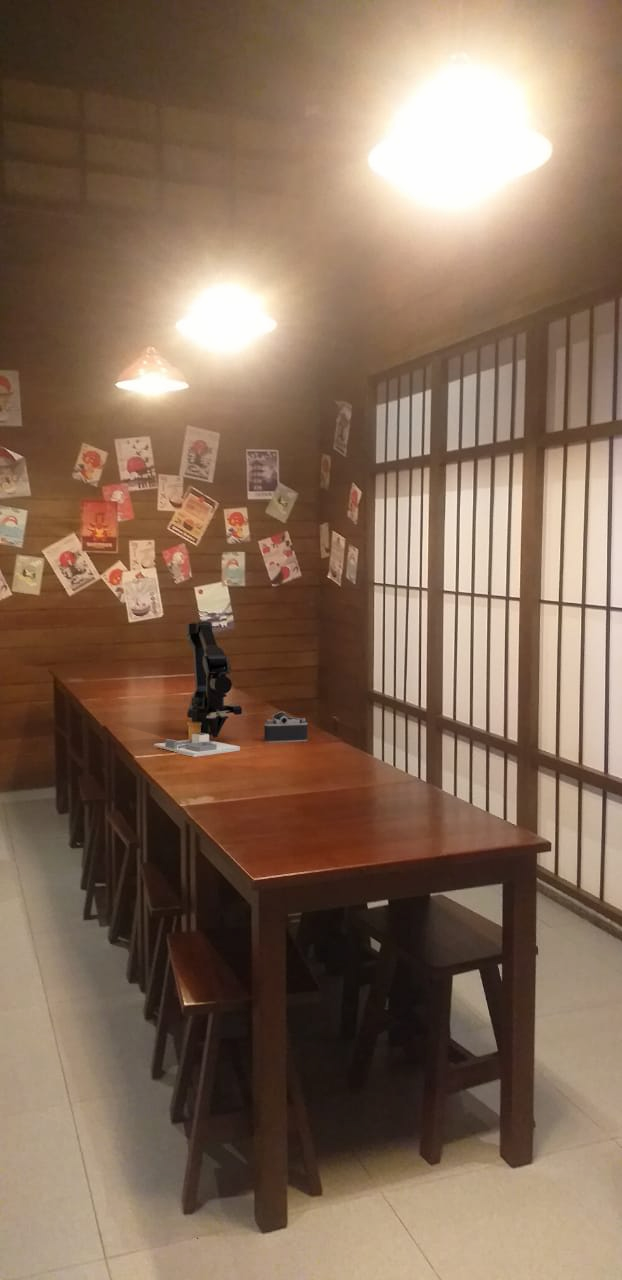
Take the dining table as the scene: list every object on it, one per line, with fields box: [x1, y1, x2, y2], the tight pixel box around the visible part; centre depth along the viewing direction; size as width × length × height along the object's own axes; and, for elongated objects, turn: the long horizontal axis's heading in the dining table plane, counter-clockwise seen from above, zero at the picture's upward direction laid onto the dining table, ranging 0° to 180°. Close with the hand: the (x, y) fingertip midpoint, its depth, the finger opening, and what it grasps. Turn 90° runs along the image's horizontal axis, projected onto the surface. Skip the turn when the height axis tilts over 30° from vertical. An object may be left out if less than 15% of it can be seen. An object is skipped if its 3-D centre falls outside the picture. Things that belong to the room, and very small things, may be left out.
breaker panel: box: [153, 738, 241, 758], centre depth 316 cm, size 18×22×4 cm
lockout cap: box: [187, 721, 202, 741], centre depth 325 cm, size 5×5×6 cm
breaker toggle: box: [192, 733, 210, 743], centre depth 320 cm, size 4×4×3 cm
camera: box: [262, 711, 308, 743], centre depth 335 cm, size 16×8×10 cm, turn 105°
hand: (215, 737), depth 324 cm, fingers closed
